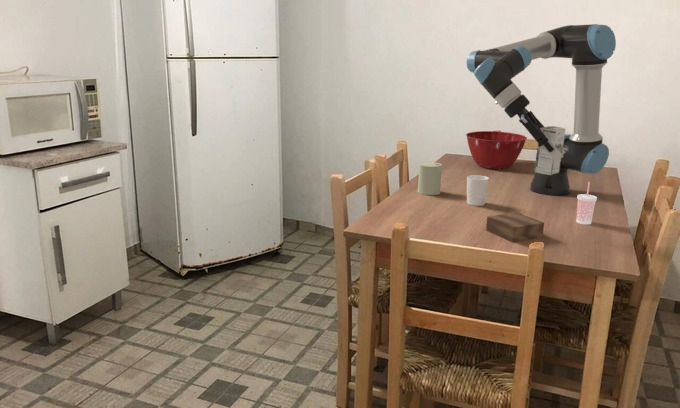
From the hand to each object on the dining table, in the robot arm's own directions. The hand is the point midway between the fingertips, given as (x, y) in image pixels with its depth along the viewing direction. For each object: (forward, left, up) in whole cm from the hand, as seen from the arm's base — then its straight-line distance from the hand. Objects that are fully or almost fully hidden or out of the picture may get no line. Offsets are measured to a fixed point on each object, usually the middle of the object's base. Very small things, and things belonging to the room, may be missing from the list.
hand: (560, 156), depth 173 cm
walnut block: (+15, +1, -24) cm, 28 cm away
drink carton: (+2, -2, -6) cm, 7 cm away
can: (+16, -53, -24) cm, 61 cm away
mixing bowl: (-39, -89, -24) cm, 100 cm away
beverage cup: (-15, -2, -24) cm, 28 cm away
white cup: (+7, -33, -24) cm, 41 cm away
